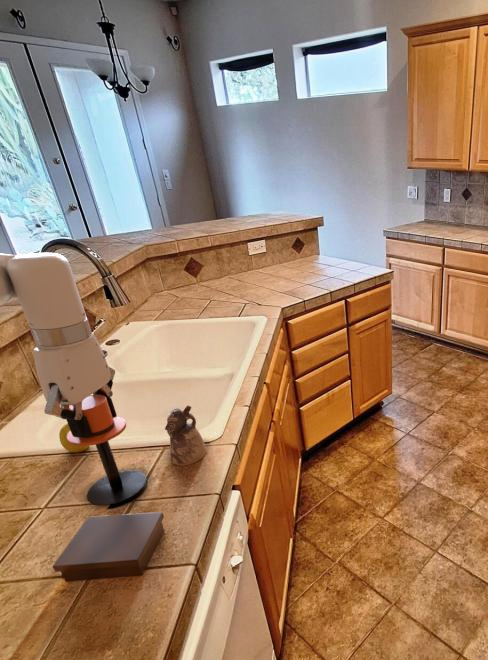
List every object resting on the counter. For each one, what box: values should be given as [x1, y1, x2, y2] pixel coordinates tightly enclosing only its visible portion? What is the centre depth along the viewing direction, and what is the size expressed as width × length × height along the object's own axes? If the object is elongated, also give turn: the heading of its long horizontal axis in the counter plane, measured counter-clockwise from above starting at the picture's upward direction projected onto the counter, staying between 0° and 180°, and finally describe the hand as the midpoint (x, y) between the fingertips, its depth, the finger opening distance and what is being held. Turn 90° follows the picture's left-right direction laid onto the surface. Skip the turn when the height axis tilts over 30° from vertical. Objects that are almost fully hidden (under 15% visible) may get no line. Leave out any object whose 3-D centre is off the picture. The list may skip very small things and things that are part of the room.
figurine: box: [164, 405, 206, 467], centre depth 92 cm, size 7×7×12 cm
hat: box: [67, 394, 127, 447], centre depth 77 cm, size 9×9×6 cm
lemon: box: [58, 422, 90, 453], centre depth 93 cm, size 6×6×8 cm
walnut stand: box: [52, 511, 165, 583], centre depth 70 cm, size 12×10×4 cm
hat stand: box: [86, 440, 149, 510], centre depth 81 cm, size 10×10×14 cm
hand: (95, 425), depth 77 cm, fingers closed on hat, 5 cm apart
